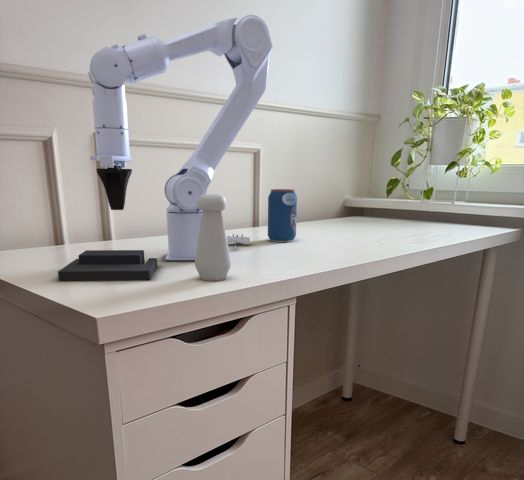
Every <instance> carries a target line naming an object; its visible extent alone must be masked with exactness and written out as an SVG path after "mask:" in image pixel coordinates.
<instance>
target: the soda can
mask: <svg viewBox="0 0 524 480" xmlns="http://www.w3.org/2000/svg"><path fill="white" fill-rule="evenodd" d="M295 191H296V190H295V189H290V188H288V189H285V188H273V189H270V193H269V195H268V197H267V237H268V239H269V240H270V241H271V242H275V243H290V242H294V240H295V238H296V236H297V214H298V212H297V210H298V197H297V194H296V192H295Z"/></svg>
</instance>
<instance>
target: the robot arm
mask: <svg viewBox="0 0 524 480" xmlns="http://www.w3.org/2000/svg"><path fill="white" fill-rule="evenodd" d="M238 18H239V17H231V18H227V19H224V20H221V21H215V22H213V23H211V24H207V25H205V26H201V27H199V28H197V29H194V30H191V31H188V32H186V33H183V34H180V35H178V36H175V37H172V38H169V39H166V40H162V39H159V38H158V37H156V36H154V35H149V36H147V34H146V33H142V34H139V35H138V36H137V40H134V41H132V42H129V43H125V44H123V45H118V43H114V44H111V47H109V46H104V47H102V48H101V49H99V50H98V51H96V52H94V54H93V55H92V57H91V59H90V63H89V69H88V72H87V73H88V78H89V80H90V82H91V84H92V87H91V93H92V96H93V98H92V103H91V104H92V112H93V113H92V114H93V125H94V138H95V150H96V155H89V160H91V161H97V162H99V165H100V168H96V173H97V175H98V177H99V179H100V180H101V182H102V185H103V188H104V191H105V194H106V198H107V203H108V205H109V209H110V210H111V211H124V209H125V204H126V197H127V189H128V184H129V180H130V177H131V176H132V172H133V169H132V168H127V163H129V162H132V156H131V149H130V131H129V117H128V102H127V100H126V88H125V86H126V85H125V83H129V84H134V83H138V82H141V81H143V80H146V79H149V78H153V77H156V76H158V75H161V74H165V73H166V71H167V69H168V66H169V64H170V62H175V61H177V60H181V59H185V58H188V57H192V56H195V55H199V54H202V53H205V52H211V53H212V54H213V55H216V56H218V57H222V56H224V58H225V59H226V61H227V63H228V64H229V66H230V68H231V71H232V72H233V77H234V80H235V87H234V88H233V90H232V91H231V93H230V94H229V96H228V98H227V99H226V101H225V102H224V104H223V105H222V107H221V108H220V110H219V112H218V113H217V115H216V117H215V118H214V120H213V121H212V123H211V124H210V126H209V127H208V129H207V131H206V132H205V134H204V135H203V137H202V139H201V140H200V141H199V143H198V145H196V148H195V150H194V151H193V153H192V154H191V156H190V157H189V158H188V159H187V161H185V162H184V163H183V164H182V165H181V168H180V169H179V171H178V172H176V173H175V174H172V175H171V176H170V177H169V178H168V179H167V180H166V182H165V185H164V188H163V189H164V190H163V191H164V196H165V197H166V200H167V201H168V203H169V205H168V207H167V208H166V209H165V210H166V225H167V244H168V245H167V247H168V252H167V254H166V256H165V258H164V260H165V261H195V257H196V250H197V243H198V236H199V230H200V223H201V216H202V210H200V209H199V208H198V198H199V197H200V196H201V195H204V194H208V193H207V191H208V188H209V186H210V184H211V182H212V181H213V176H214V172H215V170H216V168H217V167H218V165H219V164H220V162H221V161H222V159H223V158H224V156H225V154H226V153H227V151H228V150H229V149H230V146H231V145H232V144H233V142H234V140H235V138H237V136H238V134H239V133H240V131H241V129H242V128H243V126H244V125H245V123H246V121H247V120H248V119H249V117H250V115H251V114H252V112H253V110H254V109H255V108H256V106H257V104H258V103H259V101H260V100H261V98H262V97H263V95H264V94H265V92H266V89H267V86H268V85H267V83H268V74H269V73H268V72H269V63H270V56H271V53H272V50H273V43H272V42H273V41H272V38H271V35H270V30H269V27H268V24H267V23H266V22H265V20H263V19H262V18H261V17H260V16H258V15H256V14H246V15H244V16H243V17H241V18H240V19H239V20H238ZM237 20H238V21H237ZM236 21H237V23H236ZM235 23H236V24H235Z"/></svg>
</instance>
